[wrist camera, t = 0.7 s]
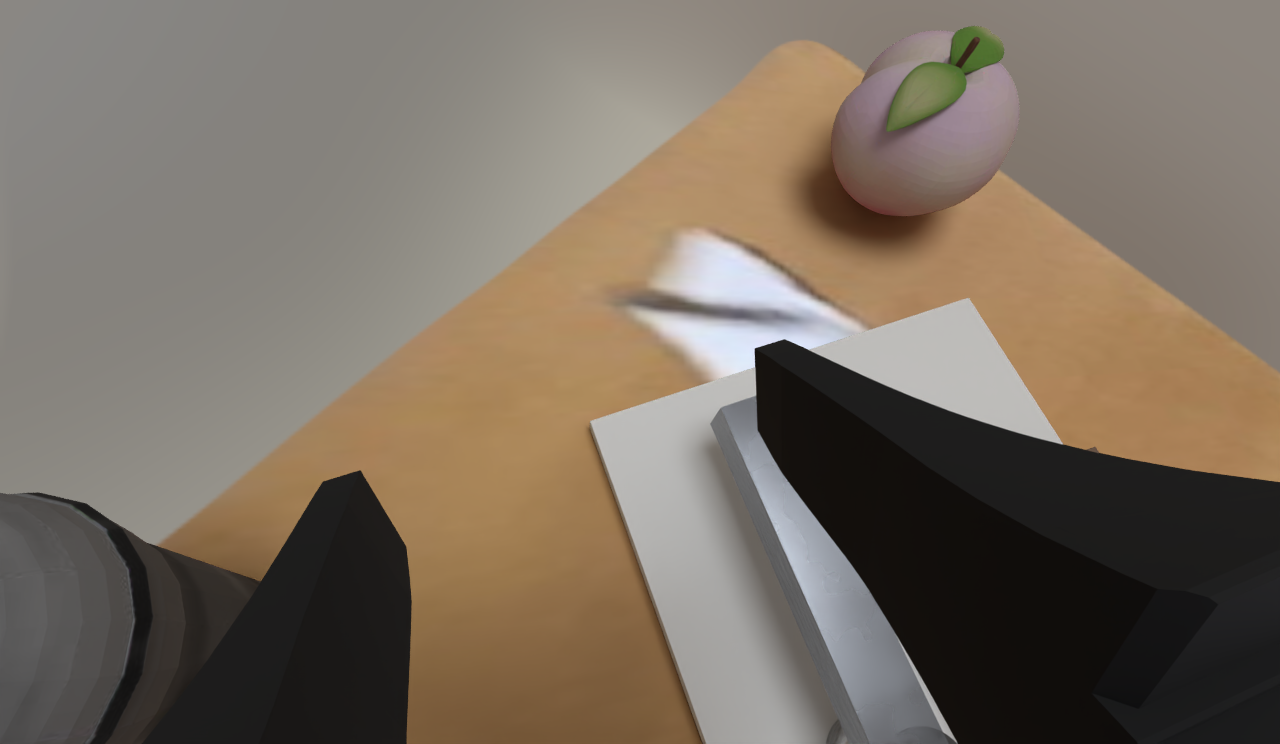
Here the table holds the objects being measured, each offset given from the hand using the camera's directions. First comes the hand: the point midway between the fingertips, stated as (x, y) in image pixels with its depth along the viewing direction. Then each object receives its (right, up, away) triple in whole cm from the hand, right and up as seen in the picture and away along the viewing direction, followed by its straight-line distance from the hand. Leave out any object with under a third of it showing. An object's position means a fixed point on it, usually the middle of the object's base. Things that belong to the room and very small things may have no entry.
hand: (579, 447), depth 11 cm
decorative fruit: (+15, +12, +24) cm, 31 cm away
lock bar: (+8, -7, +11) cm, 16 cm away
